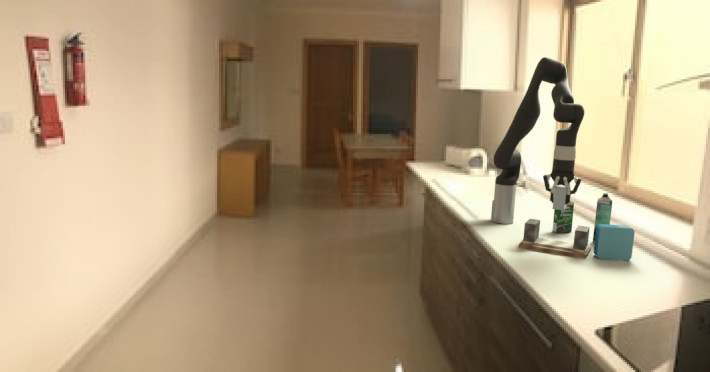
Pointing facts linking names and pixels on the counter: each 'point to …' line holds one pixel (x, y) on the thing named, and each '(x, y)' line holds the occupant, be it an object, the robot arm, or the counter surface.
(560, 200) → the block
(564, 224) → the coffee box
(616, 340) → the counter surface
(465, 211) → the counter surface
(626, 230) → the blue rounded block
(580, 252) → the wooden block stand
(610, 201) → the spray can
